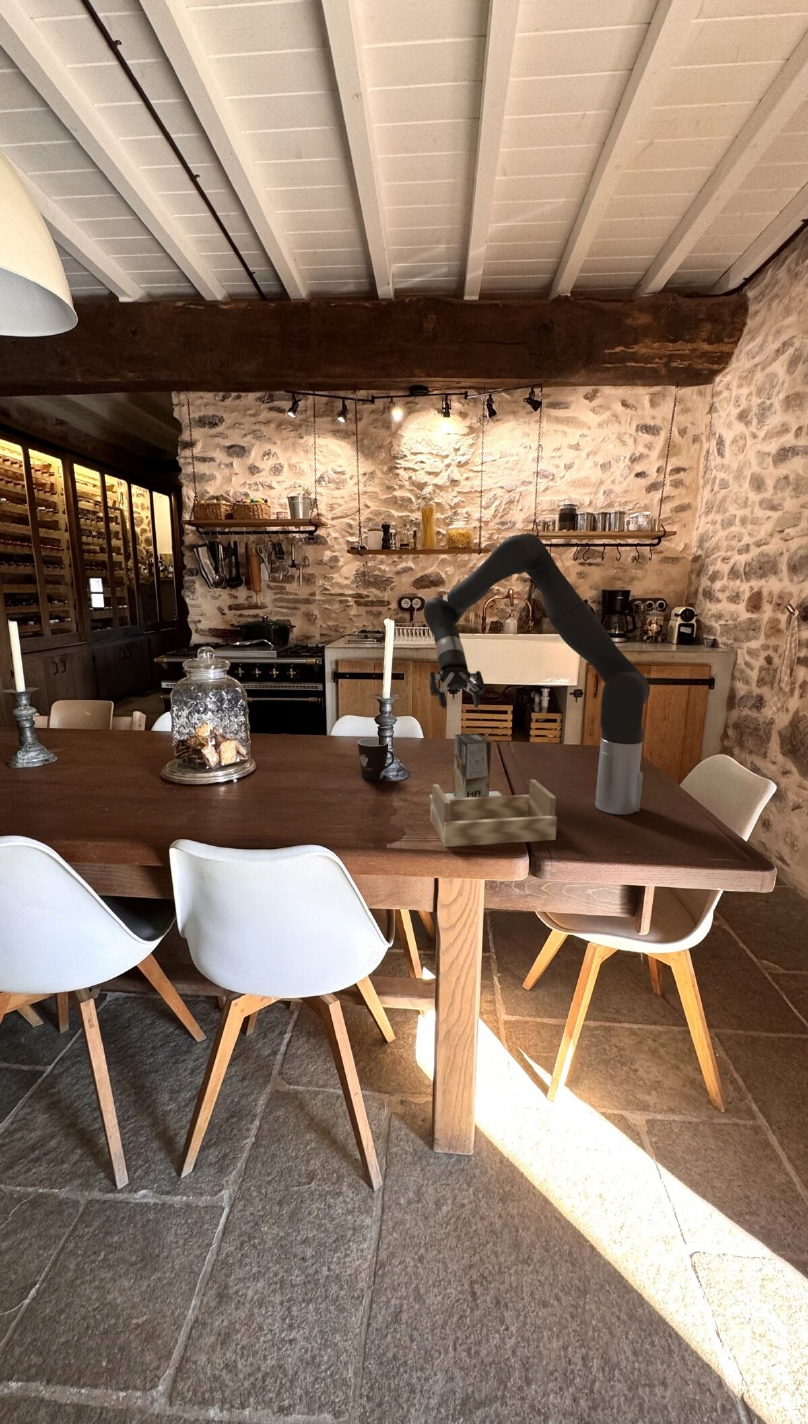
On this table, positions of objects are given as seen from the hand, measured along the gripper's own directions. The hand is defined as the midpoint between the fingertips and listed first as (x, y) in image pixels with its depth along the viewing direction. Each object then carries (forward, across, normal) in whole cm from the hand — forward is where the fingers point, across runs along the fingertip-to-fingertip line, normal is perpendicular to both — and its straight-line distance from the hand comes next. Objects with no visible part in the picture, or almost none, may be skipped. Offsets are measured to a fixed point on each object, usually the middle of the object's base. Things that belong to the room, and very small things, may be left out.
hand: (461, 706), depth 150 cm
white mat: (+24, 0, +8) cm, 25 cm away
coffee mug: (+8, -21, +23) cm, 32 cm away
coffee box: (+23, 0, +7) cm, 24 cm away
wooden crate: (+35, 0, -4) cm, 35 cm away
